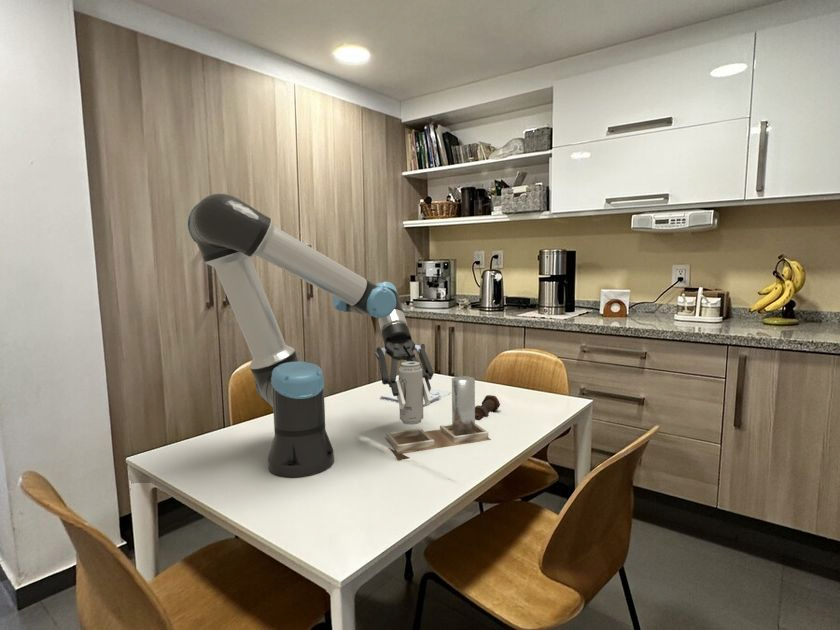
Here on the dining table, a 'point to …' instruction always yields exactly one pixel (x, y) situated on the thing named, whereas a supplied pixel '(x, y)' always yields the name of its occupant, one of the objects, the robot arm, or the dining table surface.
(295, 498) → the dining table surface
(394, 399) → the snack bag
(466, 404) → the cylinder
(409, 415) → the energy drink can
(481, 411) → the bolt
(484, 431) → the tray
